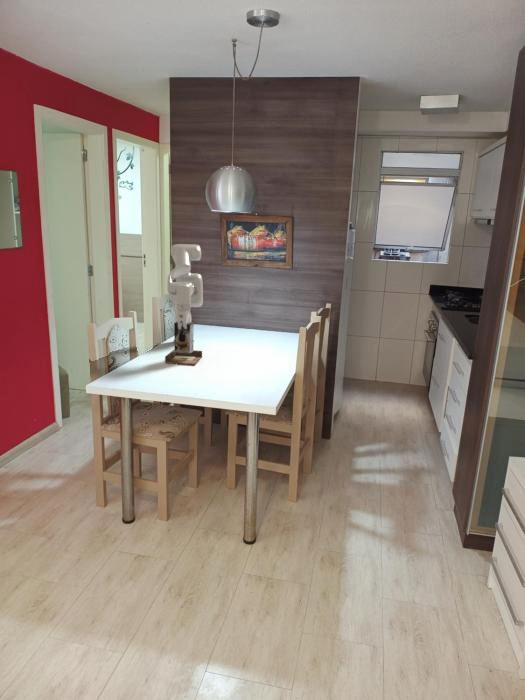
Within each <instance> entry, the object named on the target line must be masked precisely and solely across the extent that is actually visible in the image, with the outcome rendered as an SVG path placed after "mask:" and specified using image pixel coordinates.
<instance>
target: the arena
mask: <svg viewBox="0 0 525 700" xmlns="http://www.w3.org/2000/svg"><path fill="white" fill-rule="evenodd" d="M193 350H194V349H193ZM201 358H202V359H203V350H194V351H193V352H191V353H179V352H175V348H173V349H172V350H171V351H170V352H169V353H167V355H165V357H164V361H165V363H164V364H165V365H176V364H177V365H178V366H193V367H195V366H196V365H197V364H198V363H199V362H200V361H201V360H202V359H201ZM200 359H201V360H200ZM199 360H200V361H199Z"/></svg>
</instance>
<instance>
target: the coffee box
mask: <svg viewBox="0 0 525 700" xmlns="http://www.w3.org/2000/svg"><path fill="white" fill-rule="evenodd" d="M173 325H174V326H173V327H174V328H173V329H174V334H173V335H174V338H173V343H174V349H175V352H179V353H191V352H193V351H194V342H193V340H194V329H195V328H194V325H195V324H194V322H192V321H191V322H190V323H188V324H187V329H185V333H184V334H185V342H181V341H179V329H178V322H176V321H175V322H174V323H173ZM182 328H184V327H182Z"/></svg>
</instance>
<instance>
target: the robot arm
mask: <svg viewBox="0 0 525 700" xmlns="http://www.w3.org/2000/svg"><path fill="white" fill-rule="evenodd" d="M170 253H171V257H172V260H173V262H174V264H175V265H174V266H175V267H174V268H173V269H172V270H171V271H170V272H169V274H168V276H167V282H166V285H167V286H166V287H167V289H166V290H167V293H168V295H169V296H171V297H173V301H174V308H175V309H174V310H175V323H176V322H178V329H179V341H181V342H185V334H184V333H185V329H187V324H188V323H190V322H192V312H191V309H192V308H201V307H202V306H203V304H204V291H203V290H204V285H203V276H202V275H201V274H200V273H196V272H195V273H193V272H191V269H192V264H191V263H192V262H191V261H193V262H194V261H195V262H196V261H201V259H202V249H201V246H200V245H199V244H193V243H192V244H191V243H190V244H184V243H179V244H178V243H176V244H173V245H171V247H170ZM174 280H175V281H174ZM182 327H184V328H182ZM194 342H195V340H194V339H193V343H194Z"/></svg>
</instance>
